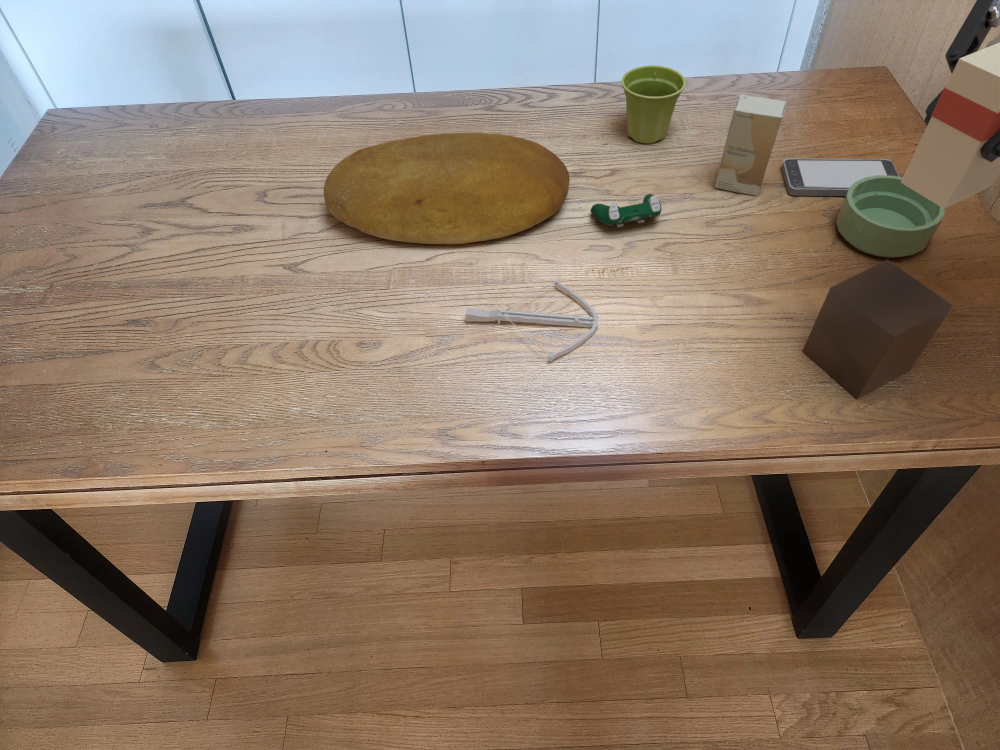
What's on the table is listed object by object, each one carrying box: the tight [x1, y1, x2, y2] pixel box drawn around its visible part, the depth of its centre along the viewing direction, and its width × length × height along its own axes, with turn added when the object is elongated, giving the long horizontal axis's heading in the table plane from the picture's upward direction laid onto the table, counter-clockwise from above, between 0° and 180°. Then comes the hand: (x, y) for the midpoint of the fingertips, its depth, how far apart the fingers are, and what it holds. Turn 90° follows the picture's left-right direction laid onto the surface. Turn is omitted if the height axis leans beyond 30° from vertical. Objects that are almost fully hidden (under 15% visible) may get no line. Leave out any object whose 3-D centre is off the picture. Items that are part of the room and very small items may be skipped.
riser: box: [802, 259, 953, 400], centre depth 70 cm, size 8×8×10 cm
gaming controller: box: [590, 193, 662, 228], centre depth 91 cm, size 9×4×6 cm
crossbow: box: [465, 280, 599, 362], centre depth 80 cm, size 16×13×2 cm
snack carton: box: [901, 42, 1000, 210], centre depth 54 cm, size 5×6×11 cm
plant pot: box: [621, 64, 687, 145], centre depth 102 cm, size 9×9×9 cm
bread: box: [323, 132, 570, 245], centre depth 92 cm, size 18×35×10 cm, turn 93°
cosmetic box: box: [714, 93, 788, 197], centre depth 91 cm, size 6×4×12 cm
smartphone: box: [780, 158, 900, 197], centre depth 94 cm, size 7×1×15 cm
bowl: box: [835, 175, 946, 259], centre depth 85 cm, size 11×11×5 cm
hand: (957, 140), depth 54 cm, fingers closed on snack carton, 4 cm apart
